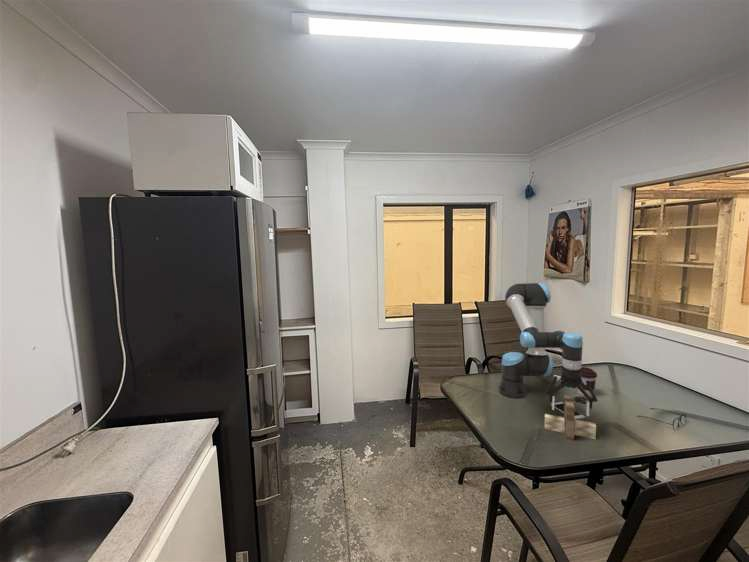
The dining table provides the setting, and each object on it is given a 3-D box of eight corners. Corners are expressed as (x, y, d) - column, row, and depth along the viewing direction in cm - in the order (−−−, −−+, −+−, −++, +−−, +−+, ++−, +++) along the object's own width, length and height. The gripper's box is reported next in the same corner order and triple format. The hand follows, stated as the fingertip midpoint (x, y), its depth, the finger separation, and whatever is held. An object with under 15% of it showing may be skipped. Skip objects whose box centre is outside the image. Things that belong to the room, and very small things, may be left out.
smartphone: (573, 420, 155) (573, 418, 155) (550, 405, 170) (550, 403, 170) (585, 418, 157) (585, 416, 157) (561, 403, 172) (561, 401, 172)
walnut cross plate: (574, 440, 139) (574, 408, 138) (566, 438, 141) (566, 407, 139) (571, 425, 150) (571, 396, 148) (563, 424, 151) (564, 395, 150)
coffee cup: (589, 390, 184) (590, 366, 182) (599, 398, 174) (601, 373, 173) (571, 390, 185) (572, 366, 183) (581, 398, 175) (582, 372, 174)
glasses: (674, 432, 144) (673, 421, 143) (635, 420, 157) (634, 410, 157) (687, 422, 150) (686, 412, 150) (648, 412, 163) (648, 402, 163)
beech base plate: (544, 428, 148) (545, 417, 148) (544, 425, 151) (544, 413, 150) (595, 439, 139) (596, 426, 139) (594, 435, 142) (595, 423, 141)
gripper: (540, 366, 144) (539, 409, 146) (606, 374, 133) (604, 421, 135) (540, 360, 151) (539, 402, 153) (603, 368, 139) (601, 413, 142)
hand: (569, 411), depth 144 cm, fingers open, 13 cm apart
